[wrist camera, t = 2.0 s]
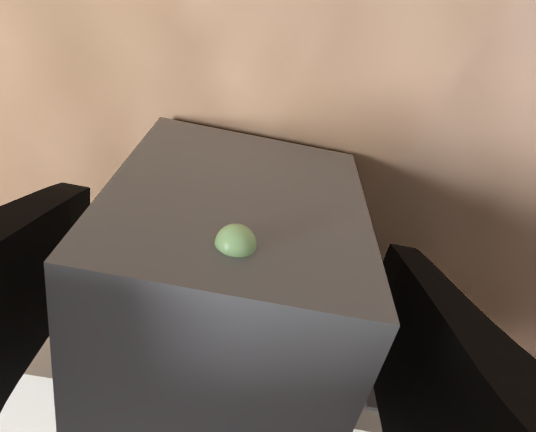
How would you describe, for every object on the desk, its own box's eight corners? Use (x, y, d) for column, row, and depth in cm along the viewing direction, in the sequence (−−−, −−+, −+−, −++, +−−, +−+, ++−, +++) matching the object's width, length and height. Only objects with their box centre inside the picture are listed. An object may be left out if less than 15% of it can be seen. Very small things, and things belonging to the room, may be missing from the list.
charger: (356, 142, 10) (408, 307, 6) (292, 356, 14) (290, 571, 9) (161, 104, 10) (41, 241, 5) (145, 331, 14) (64, 537, 9)
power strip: (527, 360, 14) (600, 490, 10) (460, 460, 16) (501, 591, 13) (-132, 243, 13) (-280, 345, 9) (-93, 369, 15) (-200, 484, 12)
